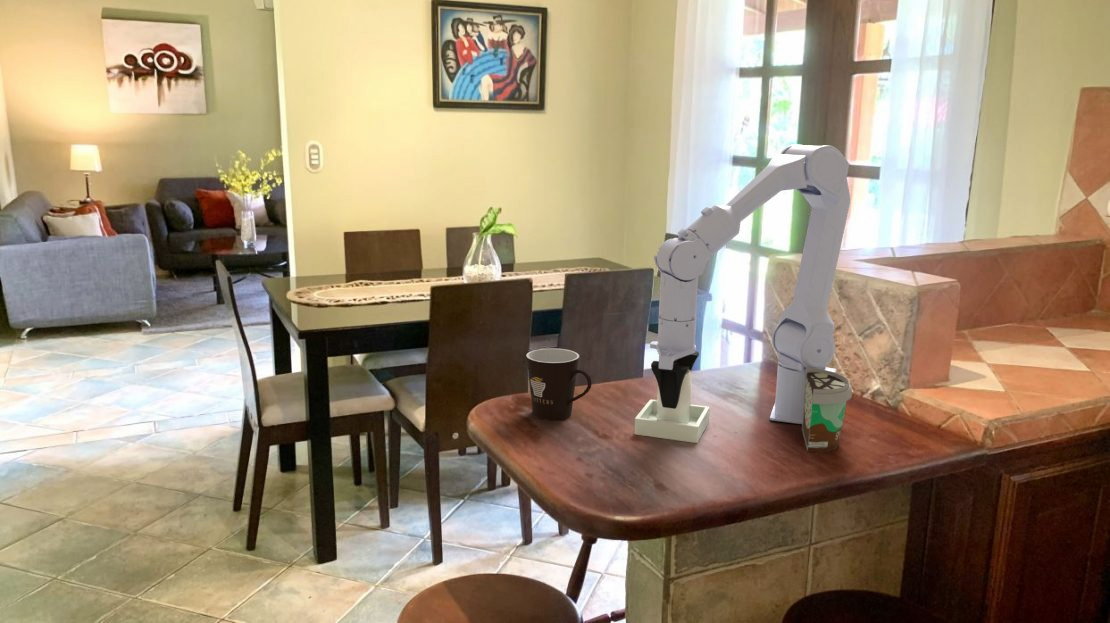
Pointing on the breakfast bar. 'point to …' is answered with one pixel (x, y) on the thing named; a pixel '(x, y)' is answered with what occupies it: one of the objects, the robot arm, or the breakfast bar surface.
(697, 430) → the tray
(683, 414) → the cup
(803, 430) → the food container
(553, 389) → the coffee mug
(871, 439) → the breakfast bar surface
